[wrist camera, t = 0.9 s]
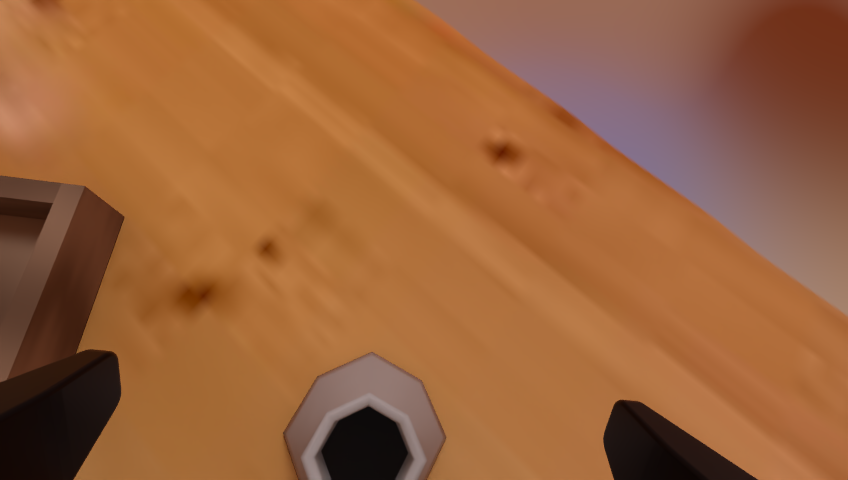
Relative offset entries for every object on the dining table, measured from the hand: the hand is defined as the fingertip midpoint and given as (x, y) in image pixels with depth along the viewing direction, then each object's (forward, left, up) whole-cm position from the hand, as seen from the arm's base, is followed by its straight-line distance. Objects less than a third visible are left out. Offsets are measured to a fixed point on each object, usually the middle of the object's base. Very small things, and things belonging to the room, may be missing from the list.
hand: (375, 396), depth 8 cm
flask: (-1, 0, -15) cm, 15 cm away
